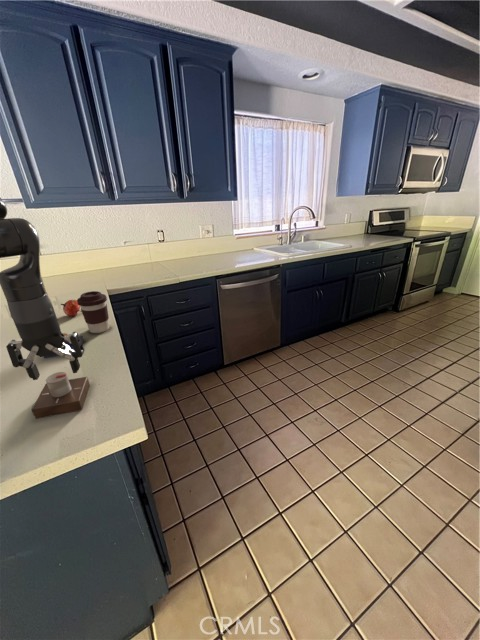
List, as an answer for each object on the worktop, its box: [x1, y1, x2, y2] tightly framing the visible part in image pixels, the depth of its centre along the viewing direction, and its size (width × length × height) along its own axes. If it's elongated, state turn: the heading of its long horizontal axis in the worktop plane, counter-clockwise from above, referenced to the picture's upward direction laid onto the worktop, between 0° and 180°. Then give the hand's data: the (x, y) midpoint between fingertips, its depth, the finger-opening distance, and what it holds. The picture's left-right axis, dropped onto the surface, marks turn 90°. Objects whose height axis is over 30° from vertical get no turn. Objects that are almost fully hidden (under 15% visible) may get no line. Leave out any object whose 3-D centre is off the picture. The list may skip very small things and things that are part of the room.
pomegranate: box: [60, 299, 82, 318], centre depth 117 cm, size 7×7×10 cm
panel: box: [31, 376, 91, 420], centre depth 68 cm, size 10×10×3 cm
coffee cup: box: [76, 290, 110, 334], centre depth 102 cm, size 10×10×15 cm
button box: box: [43, 335, 85, 359], centre depth 91 cm, size 10×9×4 cm
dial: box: [45, 371, 71, 397], centre depth 66 cm, size 4×4×5 cm
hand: (56, 374), depth 65 cm, fingers open, 8 cm apart
